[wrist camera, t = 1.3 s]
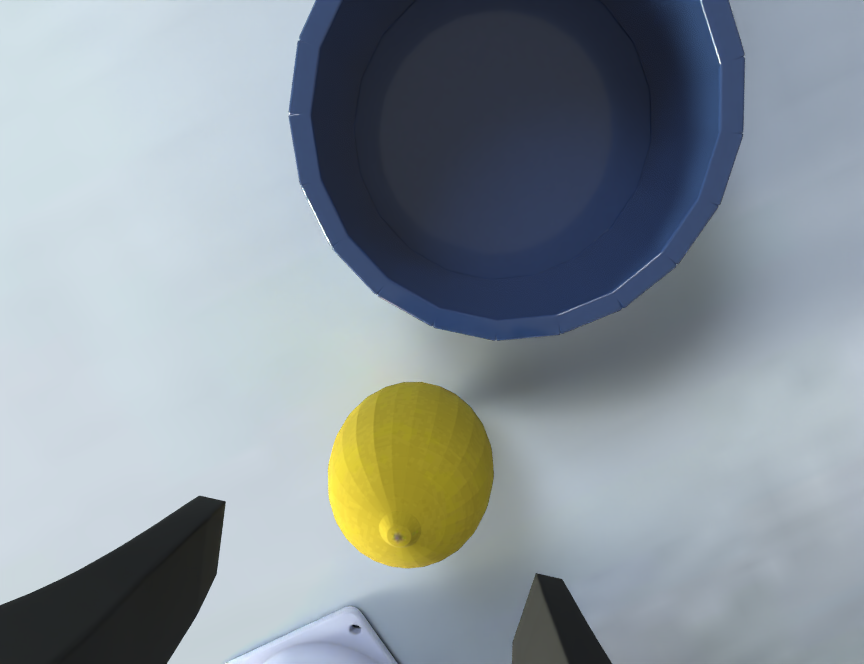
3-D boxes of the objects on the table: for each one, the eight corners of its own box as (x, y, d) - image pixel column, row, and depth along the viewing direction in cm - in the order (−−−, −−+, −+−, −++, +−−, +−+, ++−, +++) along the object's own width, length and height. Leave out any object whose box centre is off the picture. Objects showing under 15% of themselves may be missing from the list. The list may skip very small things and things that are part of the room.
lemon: (348, 355, 24) (290, 448, 16) (489, 353, 24) (498, 446, 16) (357, 480, 25) (309, 619, 18) (490, 480, 25) (499, 622, 17)
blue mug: (549, 342, 23) (578, 409, 17) (290, 195, 22) (220, 208, 16) (790, -25, 20) (941, -111, 13) (490, -221, 19) (501, -413, 12)
